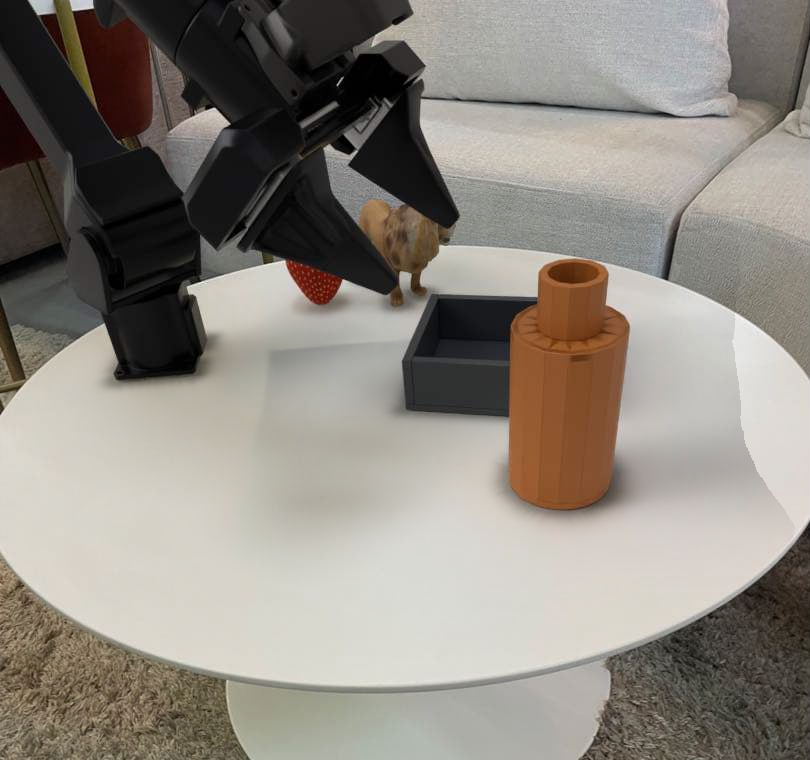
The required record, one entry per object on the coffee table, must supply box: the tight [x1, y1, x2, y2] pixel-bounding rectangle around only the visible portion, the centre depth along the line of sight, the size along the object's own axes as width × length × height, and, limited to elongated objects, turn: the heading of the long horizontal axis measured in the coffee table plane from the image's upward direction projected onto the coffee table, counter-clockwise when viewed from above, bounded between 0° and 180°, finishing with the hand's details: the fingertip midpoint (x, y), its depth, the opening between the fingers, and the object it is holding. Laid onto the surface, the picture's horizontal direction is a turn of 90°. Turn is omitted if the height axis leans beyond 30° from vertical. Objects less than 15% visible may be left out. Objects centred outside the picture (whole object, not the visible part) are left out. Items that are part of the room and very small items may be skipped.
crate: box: [401, 293, 538, 417], centre depth 59 cm, size 10×10×4 cm
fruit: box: [284, 259, 344, 306], centre depth 69 cm, size 5×5×8 cm
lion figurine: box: [358, 198, 457, 307], centre depth 71 cm, size 15×5×9 cm, turn 33°
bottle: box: [507, 257, 631, 511], centre depth 46 cm, size 6×6×14 cm
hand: (426, 253), depth 45 cm, fingers open, 9 cm apart
